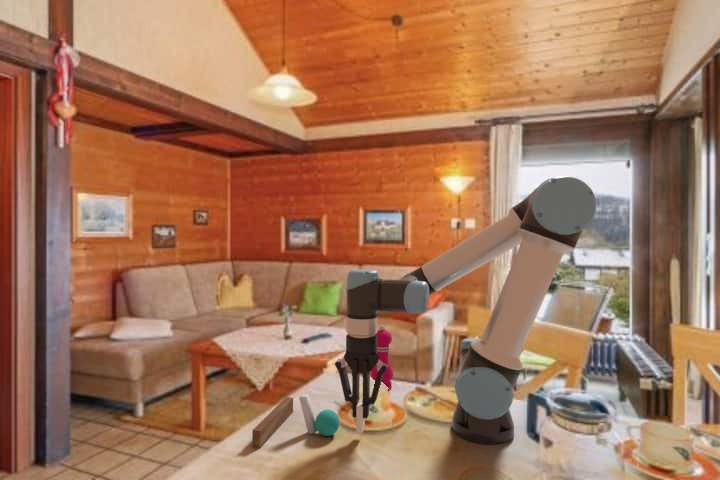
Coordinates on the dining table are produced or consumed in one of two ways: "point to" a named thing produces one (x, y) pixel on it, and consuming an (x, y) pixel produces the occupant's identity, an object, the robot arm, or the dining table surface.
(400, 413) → the dining table surface
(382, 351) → the pepper mill
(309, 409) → the pin
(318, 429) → the ball
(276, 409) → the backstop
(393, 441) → the dining table surface
